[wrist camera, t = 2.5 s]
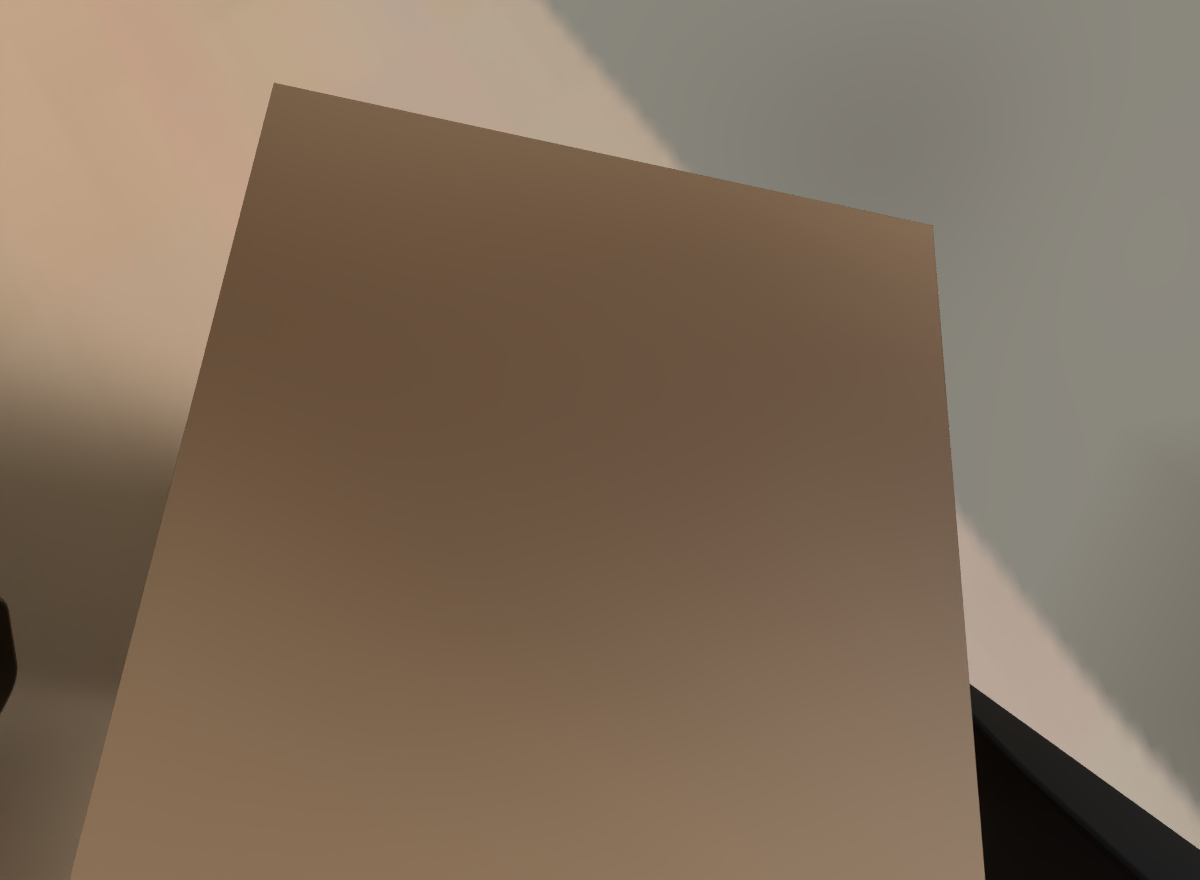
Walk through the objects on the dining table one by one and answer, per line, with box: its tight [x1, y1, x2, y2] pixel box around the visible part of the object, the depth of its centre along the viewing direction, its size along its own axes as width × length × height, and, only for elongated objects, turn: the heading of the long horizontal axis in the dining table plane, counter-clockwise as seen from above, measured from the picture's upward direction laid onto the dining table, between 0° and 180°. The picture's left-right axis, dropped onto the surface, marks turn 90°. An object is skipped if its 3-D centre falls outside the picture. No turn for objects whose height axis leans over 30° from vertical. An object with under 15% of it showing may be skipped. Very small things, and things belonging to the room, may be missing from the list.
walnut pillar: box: [69, 83, 985, 880], centre depth 10 cm, size 4×4×12 cm
